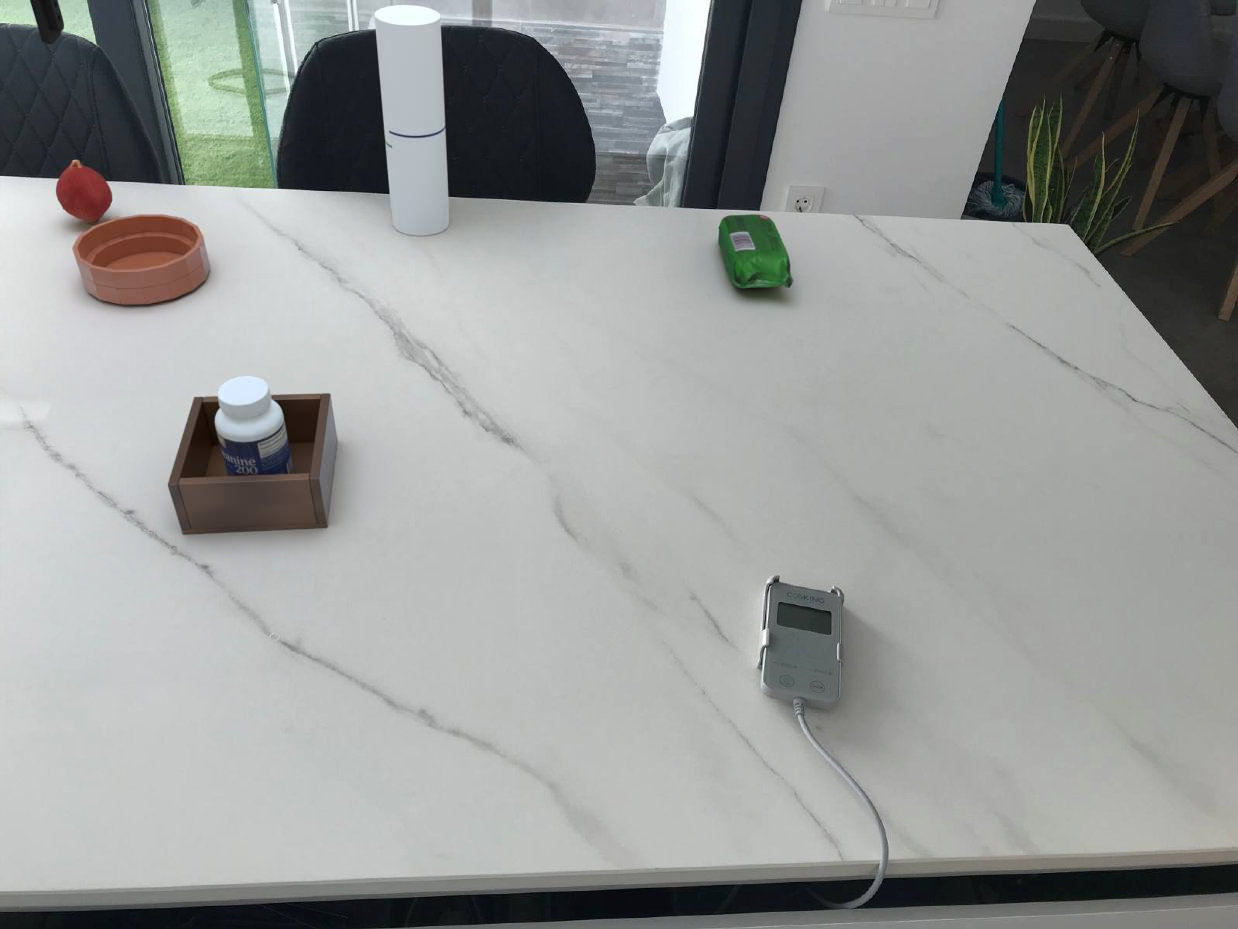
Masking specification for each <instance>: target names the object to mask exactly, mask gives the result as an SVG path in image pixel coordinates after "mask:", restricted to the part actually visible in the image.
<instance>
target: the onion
mask: <svg viewBox="0 0 1238 929" xmlns="http://www.w3.org/2000/svg"><path fill="white" fill-rule="evenodd" d="M55 195H56V199H57V201H58V203H59V204H60V206H61V208H62V209H63V210H64V211H65V212H66V213H67V214H68V215H70V216H71V217H74V218H76V219H78V220H81V221H84V222H86V223H87V224H90V225H94V224H97V223H98V222H99V221H100V220H101V218H102V217H103V216H104V215H105V214H106V213H107V211H108V210H109V209H110V208H111V205H112V202H113V192H112V189H111V187H110V185H109V183H108V182H107V180H106V179H105V178H104V177H103V176H102V174H100V172H98V171H96V170H94V169H93V168H91V167H89V166H86V165H83V164H82V163H81V162H80V160H79V159H73V160H71V163H70V165H69V166H68V167H66V168H65V170H63V171H62V172H61V174H60V176H59V178H58V180H57V182H56V186H55Z"/></svg>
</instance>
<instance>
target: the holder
mask: <svg viewBox="0 0 1238 929" xmlns="http://www.w3.org/2000/svg"><path fill="white" fill-rule="evenodd" d="M271 397H272V398H271V399H272V400H273V401H275V402H276V403H277V404H278V405H279V406H280V407H281V409H282V412H283V416H284V421H285V427H286V432H287V437H288V443H289V448H290V453H291V459H292V465H293V472H294V474H276V475H250V476H228V474H227V470H226V466H225V462H224V458H223V455H222V451H221V447H220V443H219V439H218V435H217V431H216V426H215V416H216V414H217V412H218V410H219V409H220V406H219V401H218V396H217V395H212V396H211V395H210V396H209V395H207V396H194V397H193V399H192V402H191V407H190V409H189V413H188V416H187V420H186V423H185V426H184V429H183V432H182V436H181V438H180V443H179V446H178V448H177V452H176V456H175V459H174V462H173V466H172V469H171V472H170V475H169V478H168V482H167V489H168V491H169V495H170V497H171V501H172V504H173V508H174V510H175V514H176V517H177V521H178V524H179V527H180V531H181V534H182V535H190V534H191V535H194V534H195V535H196V534H214V533H215V534H216V533H217V534H219V533H235V532H236V533H237V532H239V533H240V532H257V531H259V532H260V531H279V530H297V529H298V530H300V529H322V528H328V526H329V520H330V519H329V517H330V509H331V501H332V493H333V492H332V491H333V484H334V475H335V467H336V466H335V465H336V458H337V450H338V434H337V428H336V420H335V415H334V414H335V413H334V407H333V401H332V395H331V393H330V392H328V393H327V392H325V393H324V392H323V393H289V394H287V393H286V394H271Z"/></svg>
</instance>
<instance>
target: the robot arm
mask: <svg viewBox="0 0 1238 929" xmlns="http://www.w3.org/2000/svg"><path fill="white" fill-rule="evenodd" d="M29 2H30V6H31V10H32V12H33V16H34V19H35V22H36V26H37V29H38V33H39V37H40V40H41V42H42V43H44V44H45V45H54V43H55V42H56V41H57V40H58V39H59V38H60V37H61V36H62V32H63V31H64V29H65V21H64V18H63V14H62V11H61V7H60V3H59V0H29Z"/></svg>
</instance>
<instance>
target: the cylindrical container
mask: <svg viewBox="0 0 1238 929" xmlns="http://www.w3.org/2000/svg"><path fill="white" fill-rule="evenodd" d="M373 16H374V25H375V38H376V48H377V61H378V72H379V73H378V74H379V83H380V96H381V108H382V117H383V119H382V120H383V131H384V132H383V133H384V141H385V142H384V143H385V153H386V165H387V175H388V176H387V177H388V179H387V180H388V188H389V189H388V190H389V201H390V213H391V224H392V226H393V228H394V229H395V230H396V231H397V232H399V233H401V234H405V235H408V236H415V237H426V236H427V237H428V236H432V235H437V234H440V233H442V232H444V231H446V230H447V228H449V226H450V205H449V204H450V203H449V182H448V181H449V180H448V179H449V178H448V159H447V158H448V157H447V138H446V137H447V134H446V115H445V114H446V112H445V92H444V91H445V90H444V68H443V67H444V66H443V64H444V63H443V46H442V44H443V43H442V28H441V27H442V25H441V14H440V13H439V12H438V11H437V10H435V9H433V8H430V7H427V6H421V5H411V4H398V5H397V4H396V5H388V6H385V7H381V8H379V9H377V10H376V11H375V12H374V15H373Z"/></svg>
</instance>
